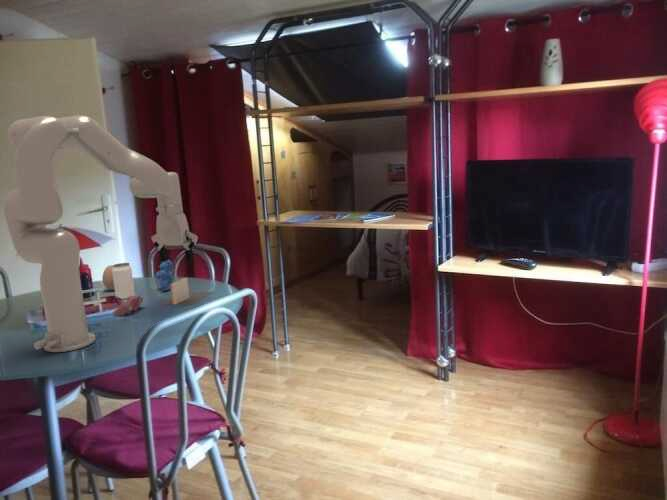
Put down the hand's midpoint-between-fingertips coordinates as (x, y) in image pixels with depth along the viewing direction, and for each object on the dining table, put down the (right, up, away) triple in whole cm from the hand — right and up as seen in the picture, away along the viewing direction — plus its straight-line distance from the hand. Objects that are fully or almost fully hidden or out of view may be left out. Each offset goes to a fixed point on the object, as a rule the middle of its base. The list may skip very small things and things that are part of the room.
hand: (177, 261), depth 173 cm
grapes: (-10, -12, +20) cm, 26 cm away
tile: (+1, -14, +2) cm, 14 cm away
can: (-23, -13, +14) cm, 30 cm away
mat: (+2, -13, +6) cm, 15 cm away
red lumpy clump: (-13, -17, -7) cm, 22 cm away
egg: (-32, -12, +25) cm, 42 cm away
